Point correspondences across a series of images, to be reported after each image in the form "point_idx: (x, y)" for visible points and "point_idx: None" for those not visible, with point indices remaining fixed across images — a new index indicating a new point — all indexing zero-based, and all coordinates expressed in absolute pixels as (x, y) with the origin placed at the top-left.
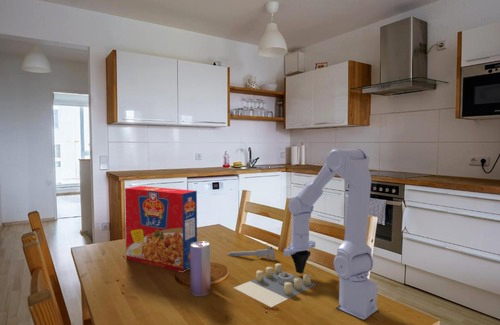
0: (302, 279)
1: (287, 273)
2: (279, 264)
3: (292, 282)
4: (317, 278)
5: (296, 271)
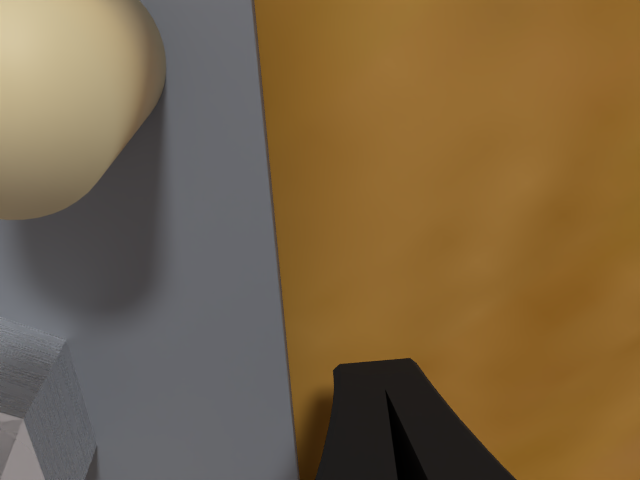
0: (278, 476)
1: (17, 448)
2: (30, 109)
3: None
4: (547, 461)
5: (335, 379)
